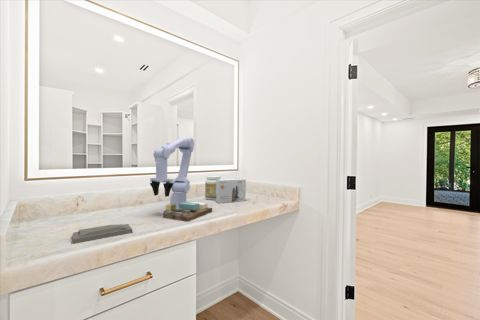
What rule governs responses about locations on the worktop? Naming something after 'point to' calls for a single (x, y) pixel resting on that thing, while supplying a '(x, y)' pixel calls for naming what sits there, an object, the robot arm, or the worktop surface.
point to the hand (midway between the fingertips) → (161, 195)
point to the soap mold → (100, 232)
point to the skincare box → (230, 190)
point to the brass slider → (171, 207)
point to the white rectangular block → (201, 205)
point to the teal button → (189, 205)
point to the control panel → (186, 214)
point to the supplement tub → (211, 187)
